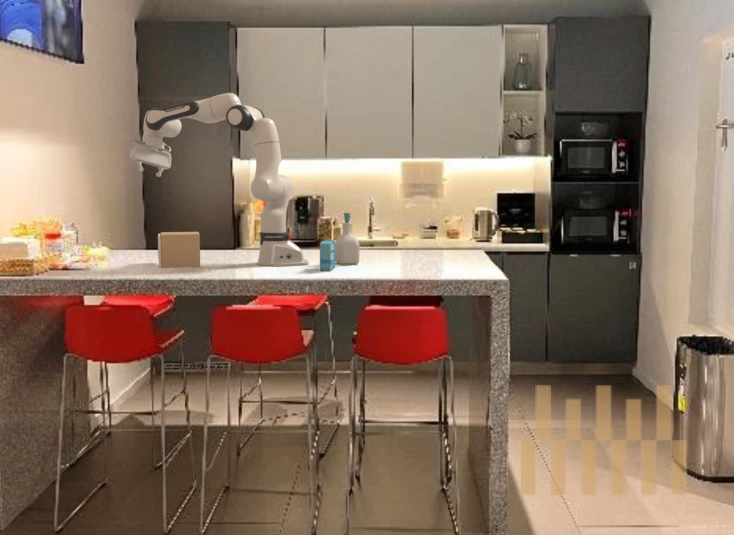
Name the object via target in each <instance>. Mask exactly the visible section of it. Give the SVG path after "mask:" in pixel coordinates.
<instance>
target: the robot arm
mask: <svg viewBox="0 0 734 535" xmlns="http://www.w3.org/2000/svg"><path fill="white" fill-rule="evenodd" d="M182 119H190V120H196V121H199V122H202V123H205V124H217V123H219V122H221V121H225V120H226V122H227V124H228V125H229V126H230V127H231V128H232V129H235V130H237V131H242V132H249V133H250V134H251V135H252V139H253V144H254V145H253V146H254V154H255V173H254V174H255V175H254V178H253V179H252V180H253V181H252V182H251V184H250V192H251V195H252V197H254V198H255V199H256V200H259V201H264V202H265V205H264V207H263V209H262V211H261V213H260V232H259V240H258V241H259V245H260V246H259V253H258V254H259V255H258V259H257V263H256V264H257V265H260V266H261V265H262V266H271V267H285V266H286V267H287V266H288V267H289V266H305V265H307V266H308V265H309V260H307V259H304V254H303V250H302V249H301V248H300V247H299V246H298V245H297V244H295V243H294V242H293V241H291V239H292V237H293V234H292V233H291V232H290V233H289V232H288V231H286V230H287V225H286V223H287V210H288V206H289V203H290V202H289V201H290V199H291V196H292V195H293V193H294V190H295V184H294V182H293V180H292V179H291V178H290V177H289V176H286V175H284V174H283V175H282V174H279V166H280V164H281V162H282V153H281V151H282V150H281V146H280V138H279V134H278V133H279V132H278V129H277V127H276V123H275V121H274V120H273V119H271V118H269V117H266V116H265V113H264V112H263V111H262V110H261V109H259V108H257V107H255V106H250V105H248V104H246V105H245V104H242V103H241V100H240V98H239V96H238V95H237V94H235V93H233V92H226V93H222V94H218V95H214V96H211V97H208V98H205V99H200V100H193V101H187V102H184V103H179V104H175V105H171V106H170V105H169V106H167V107H158V106H157V107H153V108H151V109H150V110H147V111H146V113H145V116H144V119H143V120H144V121H143V130H142V131H143V134H142V140H137V139H135V140H133V141H132V143H131V149H130V153H129V154H130V155H129V158H130V160H131V161H135V162H136V165H137V167H138V172H140V173H143V172H145V171H144V170H145V168H144V167H143V165H142V164H144V165H149V166H151V167H155V168H158V172H155V176H156V177H158V178H160V177H162V172H164V170H169V169H170V168H171V166H172V154H171V152H172V148H171V146H169V145H167V143H165V142H164V141H163V139H164V138H176V137H178V136H179V135H180V133H181V132H182V128H183V125H182V121H181V120H182Z"/></svg>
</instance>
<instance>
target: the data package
mask: <svg viewBox="0 0 734 535" xmlns="http://www.w3.org/2000/svg"><path fill="white" fill-rule="evenodd" d="M335 242H336V240H330V239H329V240H327V239H323V241H321V242H320V243H319V270H320V272H331V271H334V269H335V268H336V262H335Z"/></svg>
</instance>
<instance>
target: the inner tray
mask: <svg viewBox="0 0 734 535" xmlns="http://www.w3.org/2000/svg"><path fill="white" fill-rule="evenodd" d="M157 256H158V267H161V268H162V255H161V233H158V234H157Z"/></svg>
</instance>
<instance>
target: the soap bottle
mask: <svg viewBox="0 0 734 535" xmlns="http://www.w3.org/2000/svg"><path fill="white" fill-rule="evenodd" d="M343 217H344V218H343V220H344V221H345V222H341V224H342V227H343V229H342V230H343V231H342V233H341V235H339V236H338V237H337V238H336V240H335V264H339V265H341V266H347V265H348V266H349V265H351V266H352V265H353V266H354V265H358V264H359V262H360V242H359V240H358V239H357V237H356V236H355V235H354V234H352V225H353V222H350V219H351V213H350V212H344V213H343Z"/></svg>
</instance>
